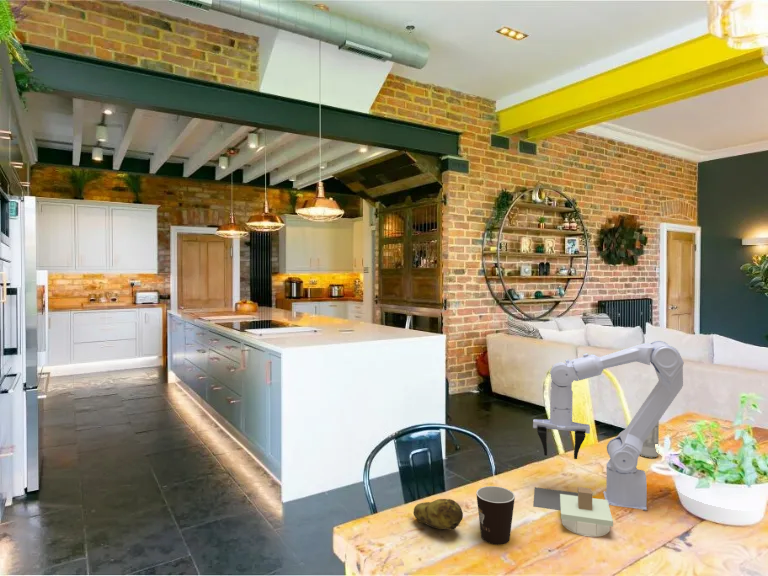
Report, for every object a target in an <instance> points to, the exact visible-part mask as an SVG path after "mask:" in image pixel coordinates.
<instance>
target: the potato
mask: <svg viewBox="0 0 768 576" xmlns="http://www.w3.org/2000/svg"><path fill="white" fill-rule="evenodd" d="M461 507H462V506H461V505H460V504H459V503H457V502H456V501H455V500H453V499H451V498H439V499H436V500H432V501H431V502H429V501H427V502H426V501H425V502H420V503H418V504H416V505H415V506H414V508H413V516H414V518H415V519H416V520H417V521H418V522H419V523H421V524H426V525H427V526H429V527H432V528H433V529H438V530H439V529H440V530H444V529H447V530H449V531H453V530H455V529H457V527H458V526H460V524H461V522H462V521H463V518H464V514H463V510H462V508H461Z"/></svg>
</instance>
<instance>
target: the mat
mask: <svg viewBox="0 0 768 576" xmlns="http://www.w3.org/2000/svg"><path fill="white" fill-rule="evenodd" d="M533 490H534V492H533V504H532V505H533V506H532V507H534V508H540V509H549V510H555V511H561V508H560V494H565V495H573V496H578V492H574V491H568V490H566V491H565V490H559V489H551V488H545V487H544V488H542V487H536V486H535V487H534V488H533Z"/></svg>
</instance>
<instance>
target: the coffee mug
mask: <svg viewBox="0 0 768 576" xmlns="http://www.w3.org/2000/svg"><path fill="white" fill-rule="evenodd" d="M475 494H476V501H477V502H476V503H477V509H478V512H477V513H478V518H479V521H478V522H479V529H480V536H481V539H482V541H484V542H486V543H488V544H491V545H497V546H500V545H501V546H502V545H506V544H507V543H509V542H510V540H511V532H512V531H511V530H512V523H513V515H514V507H515V500H516V495H515V493H514V492H513V491H511V489H508V488H505V487H502V486H497V485H496V486H495V485H490V486H489V485H488V486H483V487H480V488H478V489H477V490H476V492H475Z"/></svg>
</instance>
